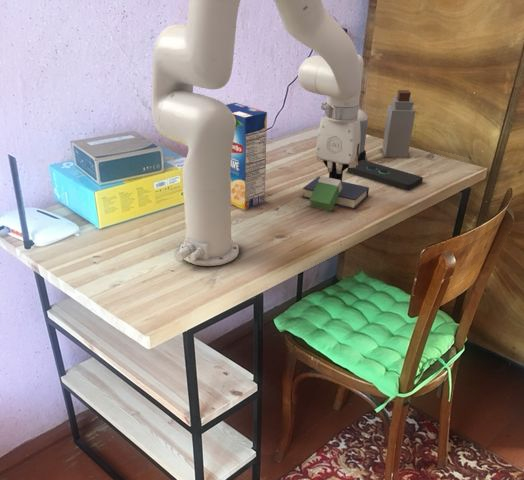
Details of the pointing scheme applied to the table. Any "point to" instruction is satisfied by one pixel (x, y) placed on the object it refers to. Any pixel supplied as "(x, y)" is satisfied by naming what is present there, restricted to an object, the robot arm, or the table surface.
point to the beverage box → (248, 156)
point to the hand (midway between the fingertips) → (334, 186)
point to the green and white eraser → (326, 193)
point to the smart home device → (386, 175)
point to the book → (342, 194)
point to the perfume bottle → (399, 125)
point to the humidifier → (362, 130)
